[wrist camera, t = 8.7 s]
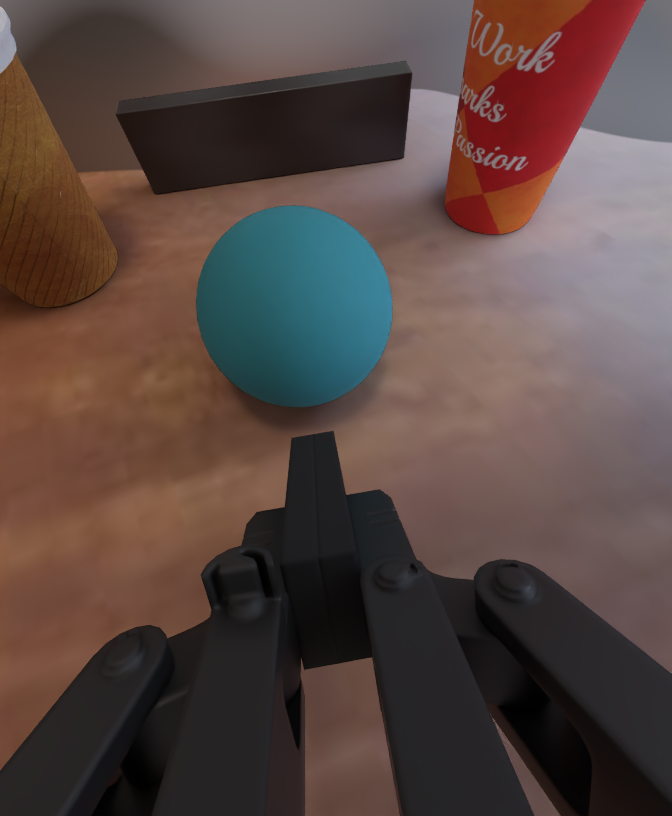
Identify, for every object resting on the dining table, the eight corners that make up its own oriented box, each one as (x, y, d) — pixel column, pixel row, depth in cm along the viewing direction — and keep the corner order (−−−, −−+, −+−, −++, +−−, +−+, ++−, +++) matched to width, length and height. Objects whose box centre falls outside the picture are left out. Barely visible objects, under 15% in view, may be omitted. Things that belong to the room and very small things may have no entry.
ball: (369, 296, 22) (374, 145, 15) (402, 422, 18) (431, 301, 11) (229, 318, 21) (165, 175, 14) (233, 450, 18) (149, 345, 11)
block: (398, 145, 28) (406, 60, 24) (404, 158, 28) (412, 72, 23) (156, 181, 28) (118, 100, 23) (154, 194, 27) (114, 113, 23)
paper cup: (411, 182, 26) (460, -201, 14) (517, 161, 27) (656, -228, 14) (454, 259, 23) (573, -165, 10) (575, 233, 23) (830, -202, 11)
